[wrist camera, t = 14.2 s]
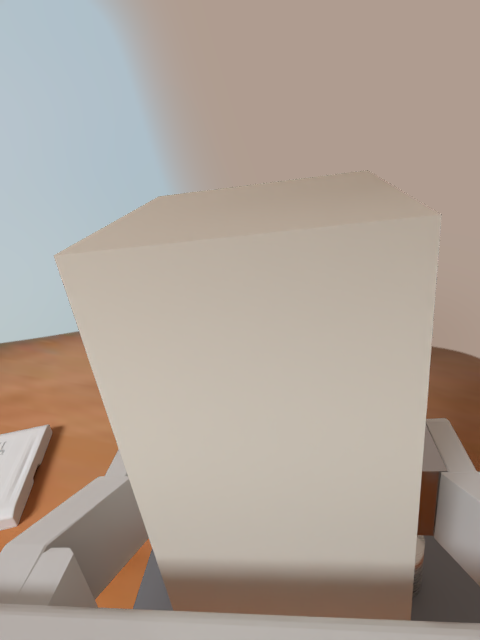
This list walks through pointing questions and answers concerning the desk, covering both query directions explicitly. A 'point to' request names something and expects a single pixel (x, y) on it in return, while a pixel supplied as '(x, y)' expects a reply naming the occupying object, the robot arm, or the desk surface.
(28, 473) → the external hard drive
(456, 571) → the plate
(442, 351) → the desk surface
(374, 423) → the cream column
